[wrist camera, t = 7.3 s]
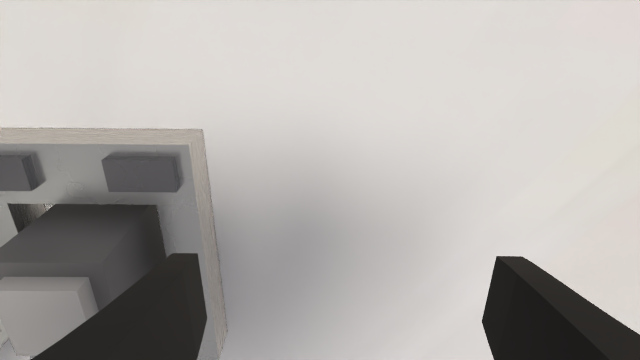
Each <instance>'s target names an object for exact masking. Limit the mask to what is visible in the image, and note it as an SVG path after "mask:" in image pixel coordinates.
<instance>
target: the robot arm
mask: <svg viewBox="0 0 640 360" xmlns="http://www.w3.org/2000/svg"><path fill="white" fill-rule="evenodd" d="M206 322H207V312H206V306H205V299H204V292H203V286H202V279H201V272H200V265H199V259H198V253H172V254H171V255H169V256H168V257H167V258H165V259H164V260H163V261H162V262H160V263H159V264H158V265H157V266H155V267H154V268H153V269H152V270H150V271H149V272H148V273H147V274H146V275H144V276H143V277H142V278H141V279H139V280H138V281H137V282H136V283H135V284H133V285H132V286H131V287H129V288H128V289H127V290H126V291H124V292H123V293H122V294H121V295H119V296H118V297H117V298H116V299H114V300H113V301H112V302H111V303H109V304H108V305H107V306H106V307H104V308H103V309H102V310H100V311H99V312H97V313H96V314H95V315H93V316H92V317H91V318H89V319H88V320H87V321H85V322H84V323H82V324H81V325H80V326H78V327H77V328H76V329H74V330H73V331H71V332H70V333H69V334H67V335H66V336H65V337H63V338H62V339H61V340H59V341H58V342H56V343H55V344H53V345H52V346H50V347H49V348H47V349H46V350H44V351H43V352H41V353H40V354H38V355H37V356H35V357H34V358H32V359H31V360H197V358H198V354H199V350H200V346H201V343H202V339H203V334H204V330H205V326H206ZM482 323H483V327H484V330H485V333H486V336H487V340H488V343H489V346H490V349H491V352H492V355H493V358H494V360H640V335H639V334H638V333H636V332H635V331H633V330H631V329H630V328H628V327H627V326H625V325H624V324H622V323H621V322H619V321H618V320H616V319H614V318H613V317H611V316H610V315H608V314H607V313H605V312H604V311H602V310H601V309H599V308H598V307H597V306H595V305H594V304H592V303H591V302H589V301H588V300H586V299H585V298H583V297H582V296H580V295H579V294H578V293H576V292H575V291H573V290H572V289H570V288H569V287H567V286H566V285H565V284H563V283H562V282H560V281H559V280H557V279H556V278H554V277H553V276H551V275H550V274H549V273H547V272H546V271H544V270H543V269H541V268H540V267H538V266H537V265H535V264H534V263H532V262H530V261H529V260H527V259H525V258H524V257H514V256H497V257H496V261H495V265H494V270H493V274H492V279H491V283H490V288H489V292H488V297H487V301H486V305H485V310H484V314H483V319H482Z"/></svg>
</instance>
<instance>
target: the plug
mask: <svg viewBox="0 0 640 360" xmlns="http://www.w3.org/2000/svg"><path fill="white" fill-rule="evenodd" d="M165 258H166V253H165V248H164V243H163V238H162V233H161V228H160V222H159V217H158V212H157V207H156V205H127V204H55V205H54V206H53V207H51V208H50V209H49V210H47V211H46V212H45V213H44V214H42V215H41V216H40V217H39V218H37V219H36V220H35V221H33V222H32V223H31V224H30V225H28V226H27V227H26V228H24V229H23V230H22V231H21V232H19V233H18V234H17V235H16V236H14V237H13V238H12V239H10V240H9V241H8V242H7V243H5V244H4V245H3V246H2V247H0V319H1V321H2V323H3V326H4V328H5V330H6V332H7V335H8V337H9V339H10V342H11V344H12V346H13V348H14V351H15V353H16V355H19V356H37V355H38V354H40V353H41V352H43V351H44V350H46V349H47V348H49V347H50V346H52V345H53V344H55V343H56V342H58V341H59V340H61V339H62V338H63V337H65V336H66V335H67V334H69V333H70V332H71V331H73V330H74V329H76V328H77V327H78V326H80V325H81V324H82V323H84V322H85V321H87V320H88V319H89V318H91V317H92V316H93V315H95V314H96V313H97V312H99V311H100V310H102V309H103V308H104V307H106V306H107V305H108V304H109V303H111V302H112V301H113V300H114V299H116V298H117V297H118V296H119V295H121V294H122V293H123V292H124V291H126V290H127V289H128V288H129V287H131V286H132V285H133V284H135V283H136V282H137V281H138V280H139V279H141V278H142V277H143V276H144V275H146V274H147V273H148V272H149V271H150V270H152V269H153V268H154V267H155V266H157V265H158V264H159V263H160V262H162V261H163V260H164V259H165Z"/></svg>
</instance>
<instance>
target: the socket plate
mask: <svg viewBox="0 0 640 360" xmlns="http://www.w3.org/2000/svg"><path fill="white" fill-rule="evenodd" d="M44 204H127V205H157V209H158V214H159V220H160V225H161V230H162V236H163V241H164V246H165V251H166V257H168V256H169V255H171V254H172V253H198V259H199V265H200V272H201V279H202V286H203V292H204V299H205V306H206V312H207V322H206V326H205V330H204V334H203V339H202V343H201V346H200V350H199V354H198V358H197V360H219V358H220V355H221V351H222V348H223V344H224V341H225V338H226V334H227V324H226V316H225V308H224V300H223V292H222V284H221V276H220V268H219V260H218V252H217V243H216V235H215V227H214V219H213V211H212V203H211V195H210V187H209V179H208V171H207V163H206V155H205V146H204V138H203V130H195V129H51V128H0V247H2V246H3V245H4V244H5V243H7V242H8V241H9V240H10V239H12V238H13V237H14V236H16V235H17V234H18V233H19V232H21V231H22V230H23V229H24V228H26V227H27V226H28V225H30V224H31V223H32V222H33V221H35V220H36V219H37V218H39V217H40V216H41V215H42V214H44V213H45V212H46V210H45V207H44ZM34 357H35V356H30V358H34Z"/></svg>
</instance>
